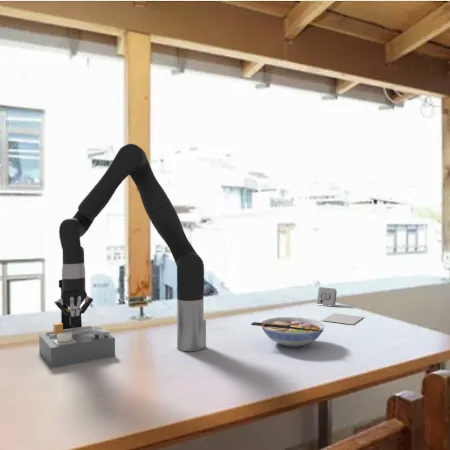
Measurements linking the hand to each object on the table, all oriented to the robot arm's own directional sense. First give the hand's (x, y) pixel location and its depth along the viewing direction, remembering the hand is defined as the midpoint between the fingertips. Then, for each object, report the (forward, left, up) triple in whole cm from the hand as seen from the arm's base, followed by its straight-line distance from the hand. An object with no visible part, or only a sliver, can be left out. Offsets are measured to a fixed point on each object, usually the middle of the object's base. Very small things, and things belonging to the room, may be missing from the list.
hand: (74, 326), depth 149 cm
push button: (+6, +10, -2) cm, 11 cm away
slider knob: (+5, 0, -2) cm, 6 cm away
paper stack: (-109, +27, -9) cm, 113 cm away
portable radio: (-2, -15, -8) cm, 17 cm away
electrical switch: (-128, -5, -8) cm, 129 cm away
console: (+1, +5, -8) cm, 9 cm away
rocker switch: (-5, +10, -1) cm, 11 cm away
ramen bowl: (-66, +37, -8) cm, 76 cm away
